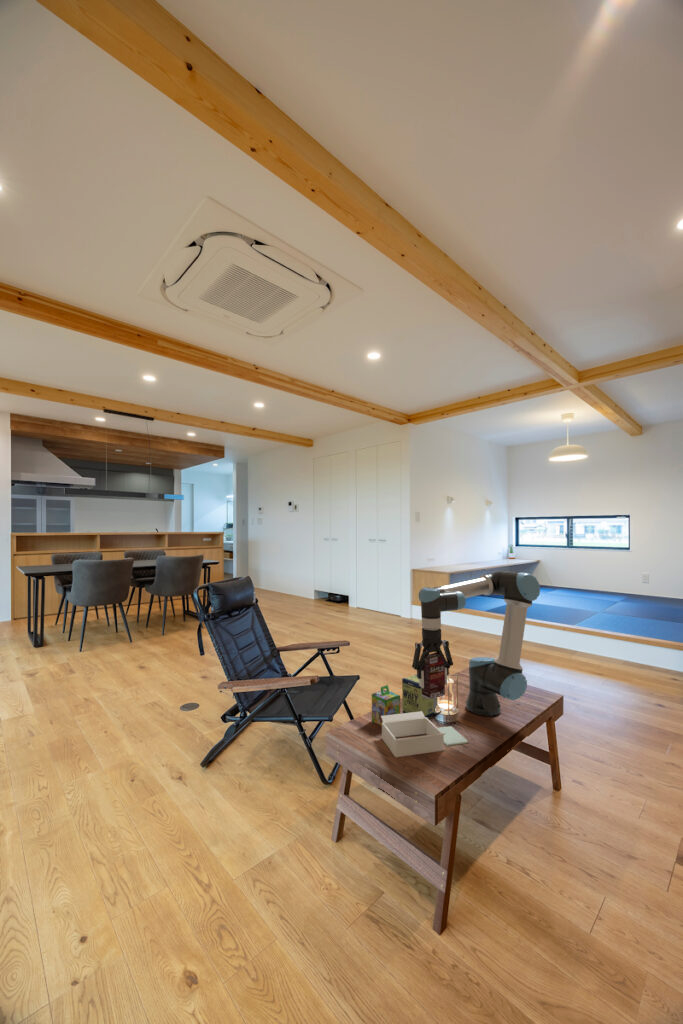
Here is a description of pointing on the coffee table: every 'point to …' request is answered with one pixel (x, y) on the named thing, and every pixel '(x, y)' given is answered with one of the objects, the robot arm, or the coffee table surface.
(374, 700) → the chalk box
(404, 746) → the carton
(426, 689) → the supplement box
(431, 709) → the protein box
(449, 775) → the coffee table surface
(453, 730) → the felt pad
